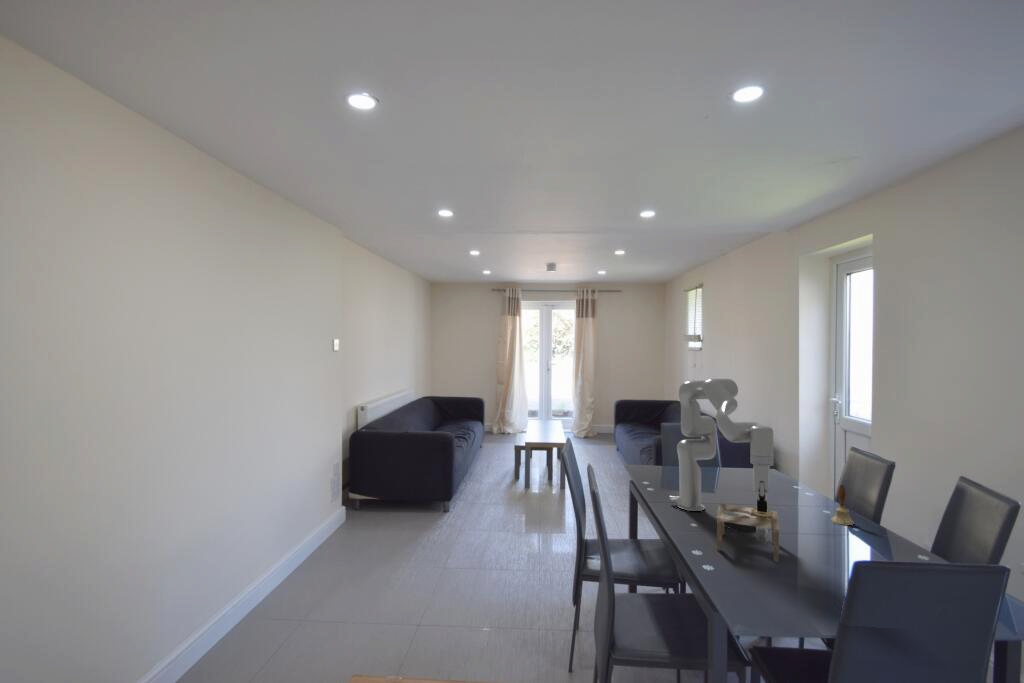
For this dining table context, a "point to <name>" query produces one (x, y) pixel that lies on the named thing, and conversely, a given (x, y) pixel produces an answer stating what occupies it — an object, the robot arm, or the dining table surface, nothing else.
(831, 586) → the dining table surface
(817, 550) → the dining table surface
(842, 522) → the hand bell
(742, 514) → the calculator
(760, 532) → the peg
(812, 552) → the dining table surface
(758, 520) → the shelf
